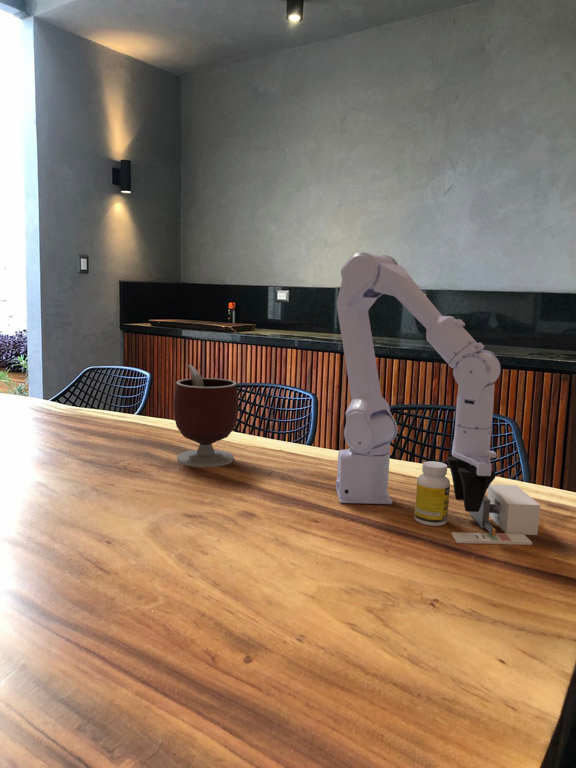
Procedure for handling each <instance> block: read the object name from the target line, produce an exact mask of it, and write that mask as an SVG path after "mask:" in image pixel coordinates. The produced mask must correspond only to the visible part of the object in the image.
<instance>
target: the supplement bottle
mask: <svg viewBox="0 0 576 768" xmlns="http://www.w3.org/2000/svg"><path fill="white" fill-rule="evenodd" d="M421 469H422V470H421V471H422V474H420V475H418V477H417V479H416V490H415V491H416V492H415V500H414V501H415V503H414V514H413V516H414V517H413V518H414V520H415V521H416V522H418V523H419V524H421V525H424V526H429V527H430V526H431V527H439V526H444V525H445V524H447V521H448V516H449V515H448V513H449V505H450V504H449V502H450V501H449V500H450V492H451V491H450V490H451V481H450V479H449V478H448V477H447V476H446V475H447V473H448V465H447V464H446V463H444V462H441V461H433V460H432V461H431V460H430V461H423V462H422V468H421Z"/></svg>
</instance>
